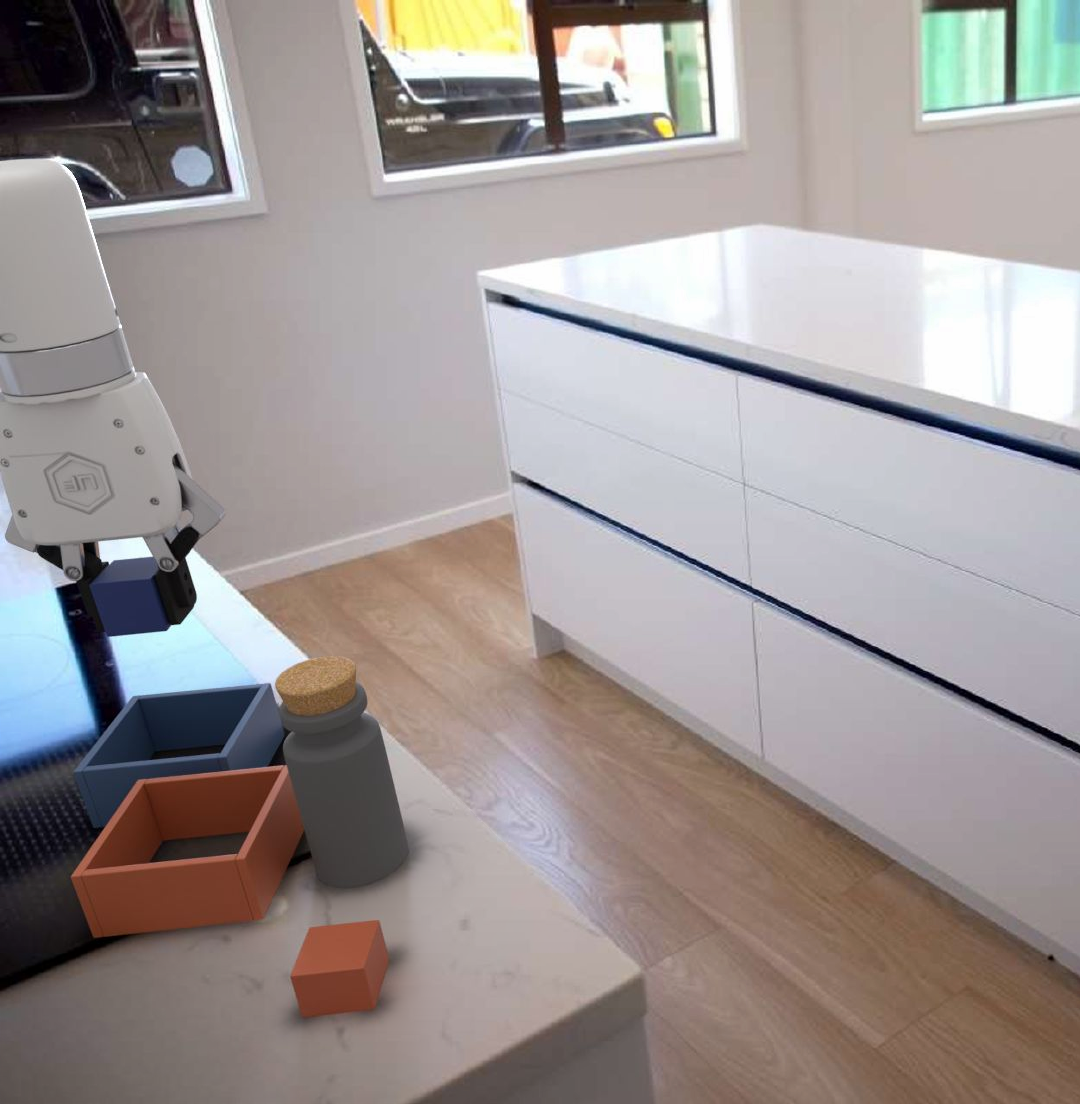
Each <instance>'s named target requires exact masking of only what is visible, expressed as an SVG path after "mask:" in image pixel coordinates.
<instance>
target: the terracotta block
mask: <svg viewBox="0 0 1080 1104" xmlns="http://www.w3.org/2000/svg"><path fill="white" fill-rule="evenodd" d="M389 964H390V956H389V952H388V948H387V945H386V941H385V937H384V934H383V930H382V925H381V922H380V919H374V920H367V921H366V920H365V921H355V922H348V923H347V922H346V923H338V924H337V923H336V924H329V925H328V924H327V925H318V926H311V927H309V928H308V930H307V932H306V935H305V938H304V940H303V942H302V945H301V948H300V950H299V952H298V955H297V957H296V959H295V963H294V965H293V968H292V971H291V972H290V975H289V978H290V980H291V985H292V989H293V991H294V994H295V998H296V1000H297V1004H298V1008H299V1011H300V1015H301V1017H302V1018H311V1017H312V1018H313V1017H323V1016H329V1015H339V1014H346V1013H354V1012H355V1013H357V1012H364V1011H371V1010H372V1011H373V1010H375V1009H376V1006H377V1003H378V1000H379V997H380V994H381V989H382V986H383V984H384V980H385V976H386V973H387V970H388V967H389Z"/></svg>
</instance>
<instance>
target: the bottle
mask: <svg viewBox="0 0 1080 1104" xmlns="http://www.w3.org/2000/svg"><path fill="white" fill-rule="evenodd" d="M274 688H275V690H276V691H277V693H278V695H279V698H280V699H281V700H282V701H281V703H280V706H279V707H278V712H279V715H280V719H281V723H282V726H283V728H284V729H286V730H287V731H288V732H289V734H288V735H287V736H286V738H285V740H284V742H283V745H282V753H283V757H284V761H285V765H287V769H288V772H289V776H290V780H291V783H292V787H293V791H294V794H295V798H296V802H297V805H298V809H299V813H300V816H301V820H302V823H303V827H304V833H305V838H306V841H307V844H308V848H309V852H310V855H311V859H312V862H313V866H314V869H315V873H316V875H317V878H318V879H319V881H320V882H322V883H323V884H325V885H326V886H329V887H332V888H338V889H351V888H352V889H355V888H359V887H365V886H367V885H372V884H374V883H376V882H379V881H381V880H383V879H385V878H387V877H389V876H390V875H391V874H393V873H394V872H395V871H397V870H398V869H399V868H400V867H401V866H402V865H404V862H405V861H406V860H407V857H408V855H409V853H410V849H409V842H408V837H407V834H406V829H405V825H404V821H403V816H402V811H401V808H400V803H399V799H398V795H397V790H396V787H395V782H394V778H393V774H392V769H391V765H390V761H389V757H388V753H387V749H386V745H385V740H384V737H383V732H382V729H381V726H380V723H379V722H378V720H377V719H376V718H375V717H374V716H373V715H371V714H369V713H366V712H365V711H366V710H367V707H368V695H367V692H366V690H365V688H364V686H363V685H362V684H361V683H360V682H357V666H356V663H355V662H354V661H353V660H351V659H350V658H347V657H345V656H336V655H328V656H319V657H318V656H317V657H314V658H309V659H306V660H303V661H300V662H298V663H295V664H294V665H292V666H289V667H288V668H286V669H285V670H283V671H282V672H281V673H280V674H279V675H278V676H277V677H276V679H275V681H274Z"/></svg>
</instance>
